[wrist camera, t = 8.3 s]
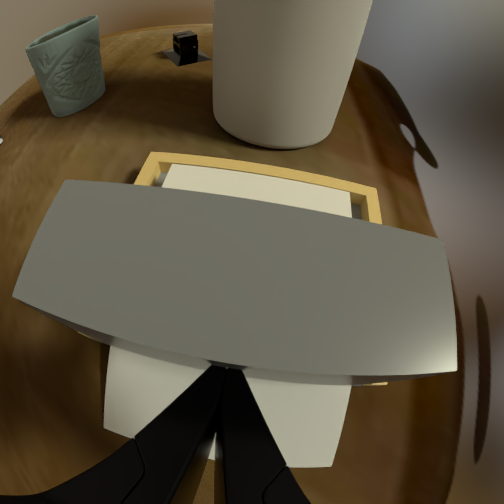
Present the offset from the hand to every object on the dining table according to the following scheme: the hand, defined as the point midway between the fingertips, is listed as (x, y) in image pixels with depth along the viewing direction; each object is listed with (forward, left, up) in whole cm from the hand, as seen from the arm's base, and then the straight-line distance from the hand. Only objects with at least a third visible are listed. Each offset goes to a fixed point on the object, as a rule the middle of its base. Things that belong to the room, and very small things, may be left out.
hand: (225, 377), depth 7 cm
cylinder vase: (+25, 0, -9) cm, 26 cm away
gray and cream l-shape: (+6, 0, -7) cm, 10 cm away
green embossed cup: (+28, +27, -9) cm, 40 cm away
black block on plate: (+42, +16, -9) cm, 46 cm away
